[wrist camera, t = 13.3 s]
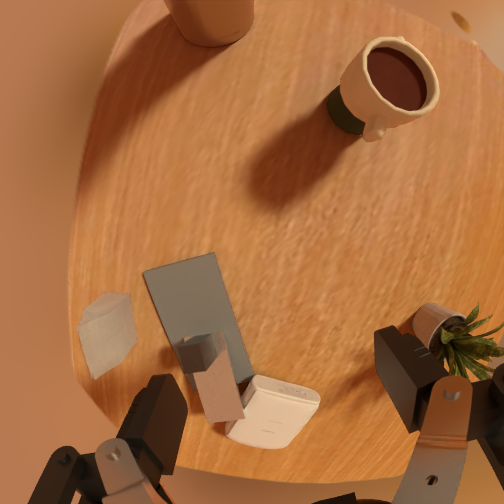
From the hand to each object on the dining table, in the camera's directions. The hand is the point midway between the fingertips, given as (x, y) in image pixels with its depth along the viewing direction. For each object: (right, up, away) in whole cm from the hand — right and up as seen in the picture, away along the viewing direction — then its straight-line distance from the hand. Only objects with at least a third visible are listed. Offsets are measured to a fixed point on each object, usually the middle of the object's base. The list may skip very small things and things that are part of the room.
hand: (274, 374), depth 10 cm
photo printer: (+4, -13, +24) cm, 28 cm away
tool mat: (-7, -5, +25) cm, 26 cm away
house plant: (+23, -6, +25) cm, 35 cm away
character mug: (+11, +21, +19) cm, 30 cm away
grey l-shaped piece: (-5, -11, +24) cm, 27 cm away
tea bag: (-18, -4, +25) cm, 31 cm away
